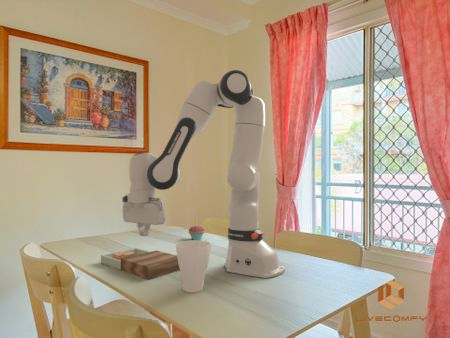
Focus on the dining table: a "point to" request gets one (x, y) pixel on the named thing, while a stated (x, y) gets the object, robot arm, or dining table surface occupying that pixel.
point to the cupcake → (196, 232)
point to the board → (150, 264)
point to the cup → (193, 263)
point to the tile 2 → (127, 254)
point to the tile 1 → (117, 256)
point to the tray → (116, 263)
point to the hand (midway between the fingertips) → (144, 235)
